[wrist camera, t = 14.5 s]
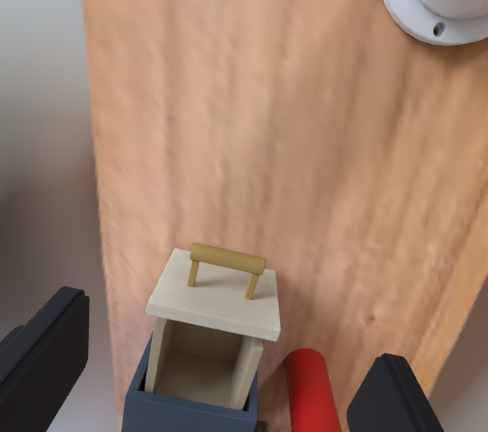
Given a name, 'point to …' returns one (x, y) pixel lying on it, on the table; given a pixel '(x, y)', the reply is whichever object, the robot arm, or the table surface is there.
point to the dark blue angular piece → (181, 409)
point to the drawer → (211, 325)
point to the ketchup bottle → (310, 393)
